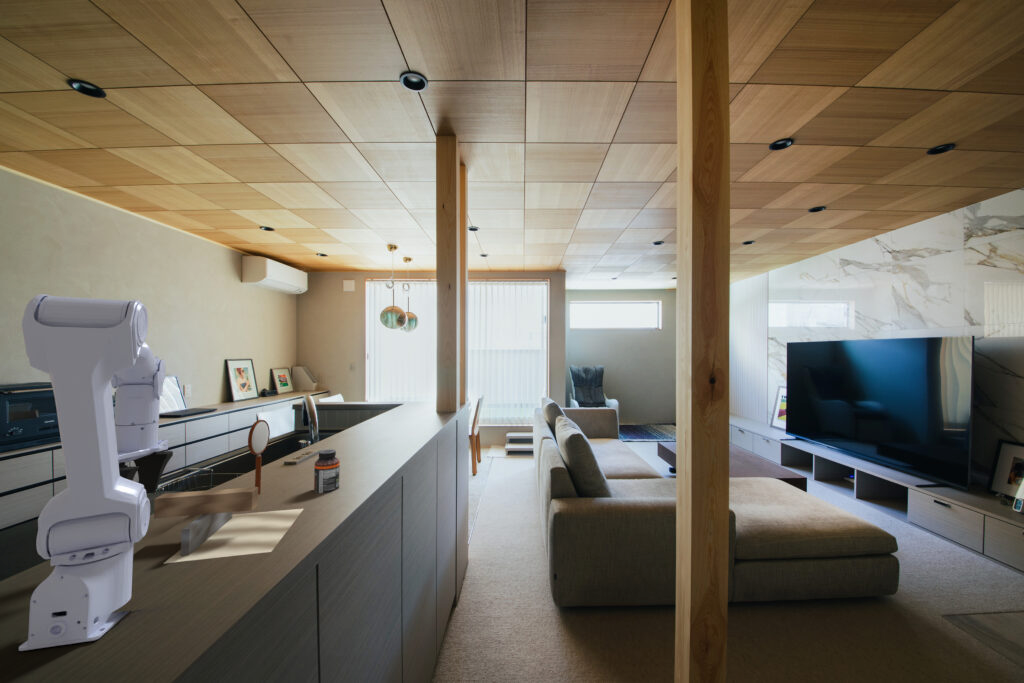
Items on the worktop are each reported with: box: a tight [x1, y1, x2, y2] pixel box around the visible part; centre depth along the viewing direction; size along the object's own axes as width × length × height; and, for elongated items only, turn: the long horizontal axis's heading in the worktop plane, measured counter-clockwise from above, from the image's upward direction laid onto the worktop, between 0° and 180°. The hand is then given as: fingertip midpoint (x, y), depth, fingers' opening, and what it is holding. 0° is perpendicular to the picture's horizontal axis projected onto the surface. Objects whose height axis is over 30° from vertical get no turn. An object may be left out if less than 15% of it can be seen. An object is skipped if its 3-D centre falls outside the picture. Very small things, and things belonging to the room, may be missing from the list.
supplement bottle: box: [313, 449, 341, 494], centre depth 100 cm, size 6×6×11 cm
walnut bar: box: [153, 486, 259, 519], centre depth 74 cm, size 16×3×4 cm, turn 104°
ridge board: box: [163, 508, 304, 565], centre depth 75 cm, size 20×16×6 cm
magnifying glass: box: [247, 419, 271, 496], centre depth 97 cm, size 9×2×20 cm, turn 5°
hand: (133, 500), depth 68 cm, fingers open, 7 cm apart
